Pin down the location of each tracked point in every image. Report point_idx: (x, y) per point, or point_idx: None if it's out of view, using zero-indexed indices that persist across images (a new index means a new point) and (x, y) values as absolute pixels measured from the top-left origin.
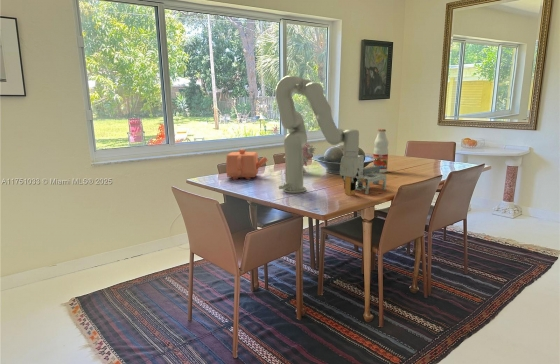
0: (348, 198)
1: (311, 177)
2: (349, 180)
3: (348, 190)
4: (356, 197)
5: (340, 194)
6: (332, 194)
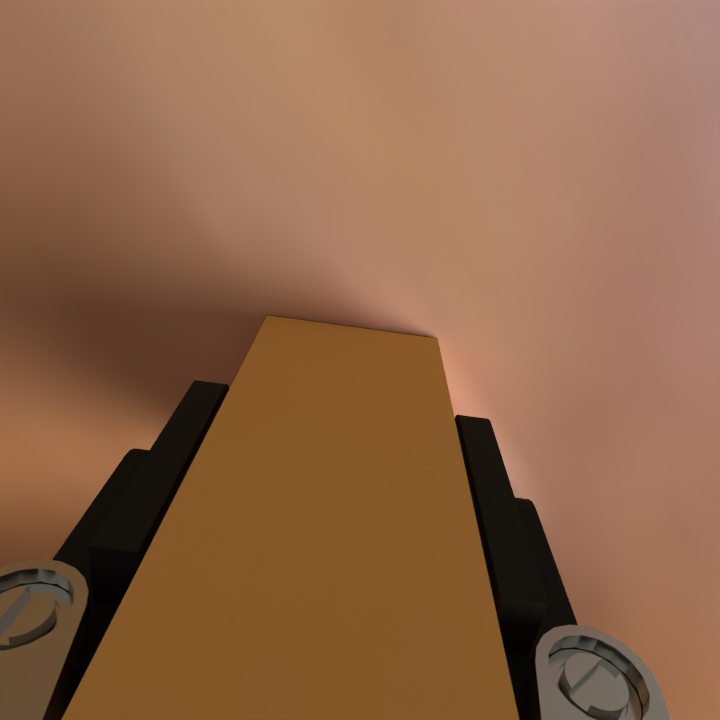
0: (87, 3)
1: None
2: (181, 654)
3: (307, 374)
4: (30, 250)
5: (512, 240)
6: (717, 85)
